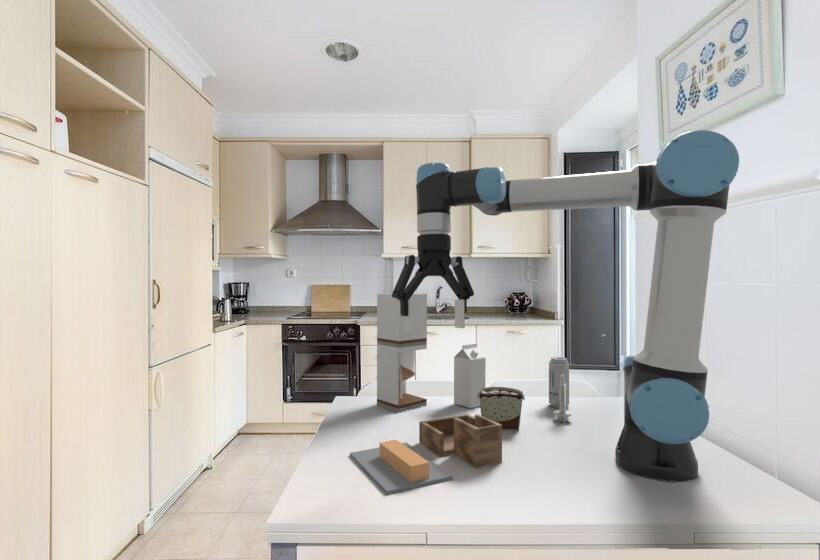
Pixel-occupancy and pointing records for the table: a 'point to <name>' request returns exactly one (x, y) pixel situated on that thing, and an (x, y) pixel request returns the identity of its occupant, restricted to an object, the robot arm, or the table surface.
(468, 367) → the milk carton
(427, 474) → the tan wooden beam
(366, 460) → the mat
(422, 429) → the pocket block
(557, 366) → the energy drink can
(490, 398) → the food container
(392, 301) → the white cabinet tower
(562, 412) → the screw
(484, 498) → the table surface
